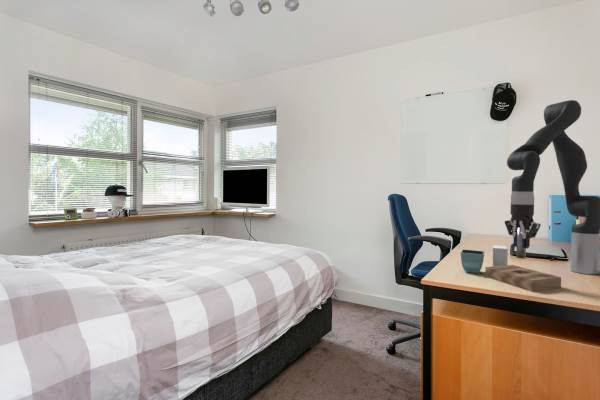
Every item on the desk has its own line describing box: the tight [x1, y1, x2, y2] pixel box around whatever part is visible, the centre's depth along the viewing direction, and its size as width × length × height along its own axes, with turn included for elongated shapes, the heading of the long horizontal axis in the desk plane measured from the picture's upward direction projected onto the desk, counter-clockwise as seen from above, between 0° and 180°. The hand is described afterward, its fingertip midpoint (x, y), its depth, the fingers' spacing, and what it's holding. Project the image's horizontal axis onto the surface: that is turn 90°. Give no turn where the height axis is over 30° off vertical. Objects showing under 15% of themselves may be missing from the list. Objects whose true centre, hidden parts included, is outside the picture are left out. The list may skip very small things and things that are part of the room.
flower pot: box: [460, 248, 485, 274], centre depth 141 cm, size 9×9×9 cm
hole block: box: [484, 264, 562, 292], centre depth 125 cm, size 20×14×4 cm
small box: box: [492, 245, 509, 267], centre depth 144 cm, size 8×6×10 cm
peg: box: [515, 227, 527, 259], centre depth 125 cm, size 3×3×12 cm
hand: (521, 247), depth 125 cm, fingers closed on peg, 3 cm apart
